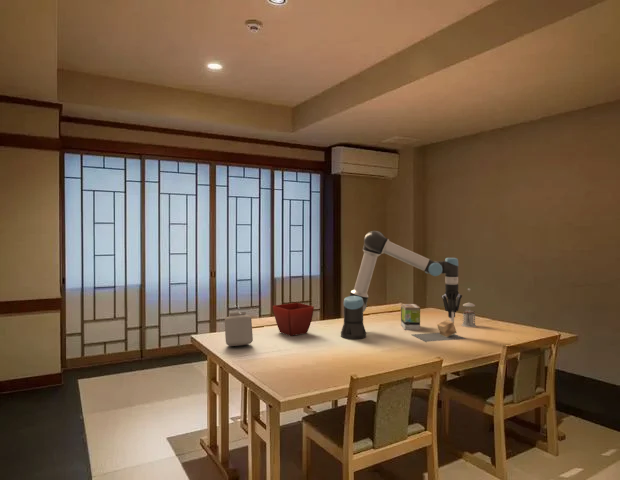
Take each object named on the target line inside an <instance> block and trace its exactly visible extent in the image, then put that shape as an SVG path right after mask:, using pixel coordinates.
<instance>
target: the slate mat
mask: <svg viewBox="0 0 620 480" xmlns="http://www.w3.org/2000/svg"><path fill="white" fill-rule="evenodd" d="M411 336H413V337H414V338H416V339H419V340H420V341H423V342H425V343H427V342H442V341H454V340H467V338H466V337H463V336H461V335H458V334H457V333H455V334H453V335H451V336H449V337H444V336H442V335H440V332H430V333H413V334H411Z"/></svg>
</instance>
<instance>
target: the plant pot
mask: <svg viewBox="0 0 620 480" xmlns="http://www.w3.org/2000/svg"><path fill="white" fill-rule="evenodd" d="M314 310H315V306H313V305H308V304H305V303H301V302H292V303H285V304H284V303H282V304H276V305H272V311H273V316H274V319H275V322H276V325H277V328H278V332H279V333H280V332H281V334H283V333H284V334H283V335H286V334H287V336H289V335H290V337H293V335H294V336H298V335H305V334H308V331H309V329H310V327H311V323H312V319H313V315H314Z"/></svg>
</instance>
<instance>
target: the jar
mask: <svg viewBox="0 0 620 480" xmlns="http://www.w3.org/2000/svg"><path fill="white" fill-rule="evenodd" d="M234 307H236V305H234ZM237 308H238V309H240V307H239V305H238V307H237ZM224 334H225V335H224V337H225V344H226V345H227V346H229V347H234V346H235V347H236V346H245V345H249V344H252V343H253V342H254V340H253V339H254V336H253V335H254V334H253V322H252V316H250V315H248V314H247V313H246V311H241V312H240V311H239V312H231V313H229V316H227V317H225V319H224Z"/></svg>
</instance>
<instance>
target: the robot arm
mask: <svg viewBox="0 0 620 480" xmlns="http://www.w3.org/2000/svg"><path fill="white" fill-rule="evenodd" d="M362 251H363V256H362V259H361V263H360V266H359V270H358V274H357V276H356V277H357V278H356V280H355V284H354V287H353V289H352V290H351V291H350V293H349V295H348V296H346V297H344V299H343V324H342V328H341V331H340V337H341V338H343V339H348V340H361V339H365V338H367V331H366V329H365V325H364V312H365V311H366V309H367V307H368V305H367V304H368V300H369V298H370V297H369V294H368V291H369V288H370V284H371V281H372V278H373V274H374V270H375V266H376V263H377V260H378V257H379V256H381V255H382V254H385V255H388V256H390V257H392V258H395V259H396V260H399V261H401V262H403V263H405V264H407V265H410V266H412V267H414V268H416V269H419V270H421V271H422V272H424V273H425V274H428V275H429V274H430V275H431V276H433V277H439V276H440V275H442V274H443V275H444V278H445V279H444V280H445V281H444V283H445V284H444V286H445V287H444V288H445V289H444V290H445V291H444V294H443V295H441V296H440V297H441V298H442V302H443V306H444V310H445V312H448V314H447V316H448V319H449V321H451V322H453V323H454V324H455V318H456V313H457V312H458V311H459V309H460V305H461V304H460V303H461V300H462V298H463V295H462V294H460V293H459V268H460V267H459V259H458V258H457V257H446V258H445V260H432V259H430V258H427V257H426V256H424V255H421V254H419V253H417V252H414V251H412V250H410V249H407V248H405V247H403V246H401V245H398V244H396V243H394V242H392V241H390V238H387V237H385V236H384V234H383V233H382V232H381V231H379V230H372V231H368V232H367V233H366V234H365V236H364V238H363V246H362Z"/></svg>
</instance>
